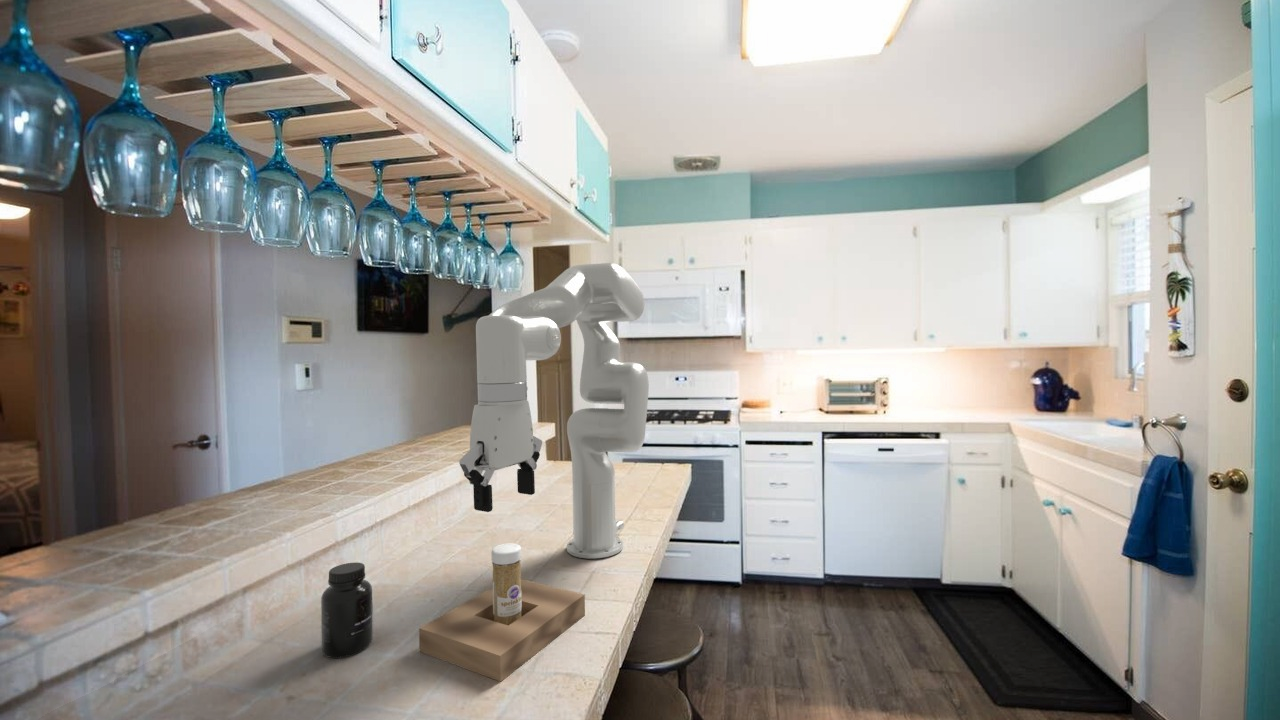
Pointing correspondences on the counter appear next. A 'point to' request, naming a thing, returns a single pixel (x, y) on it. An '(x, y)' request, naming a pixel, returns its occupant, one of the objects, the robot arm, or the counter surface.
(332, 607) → the supplement bottle
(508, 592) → the sprinkles bottle
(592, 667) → the counter surface
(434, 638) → the spice holder
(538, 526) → the counter surface
